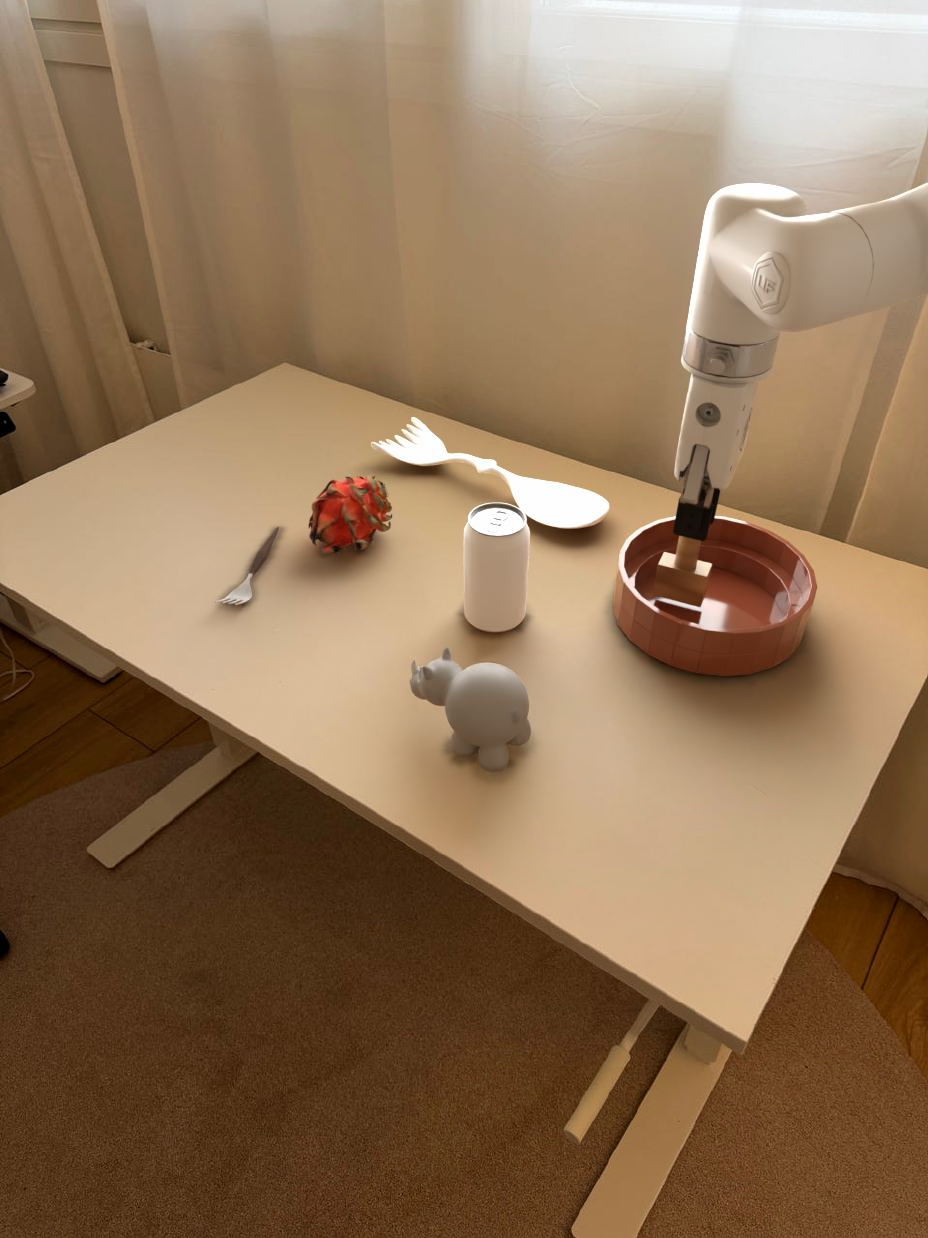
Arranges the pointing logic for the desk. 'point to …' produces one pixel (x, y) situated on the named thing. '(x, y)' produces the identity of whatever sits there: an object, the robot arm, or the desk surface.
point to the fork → (250, 575)
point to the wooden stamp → (683, 573)
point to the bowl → (717, 599)
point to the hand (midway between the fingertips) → (693, 526)
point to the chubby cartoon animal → (477, 706)
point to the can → (495, 567)
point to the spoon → (531, 495)
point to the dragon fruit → (349, 513)
